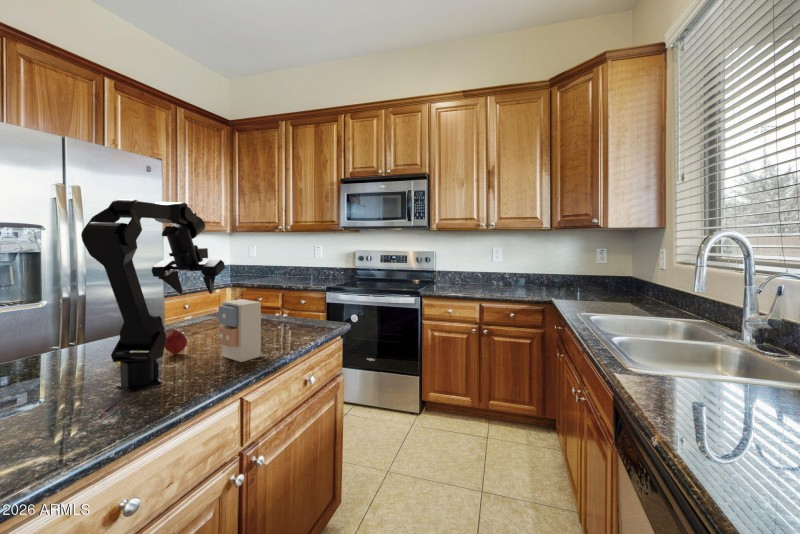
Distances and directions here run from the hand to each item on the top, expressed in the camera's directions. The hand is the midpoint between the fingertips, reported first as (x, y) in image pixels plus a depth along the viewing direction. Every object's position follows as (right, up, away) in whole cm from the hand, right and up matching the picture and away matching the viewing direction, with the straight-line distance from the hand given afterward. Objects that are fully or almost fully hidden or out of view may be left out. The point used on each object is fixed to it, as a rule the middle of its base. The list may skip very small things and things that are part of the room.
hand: (196, 293), depth 109 cm
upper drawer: (+12, -8, -6) cm, 16 cm away
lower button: (+12, -14, -5) cm, 20 cm away
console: (+15, -19, -1) cm, 24 cm away
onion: (-5, -18, -1) cm, 19 cm away
